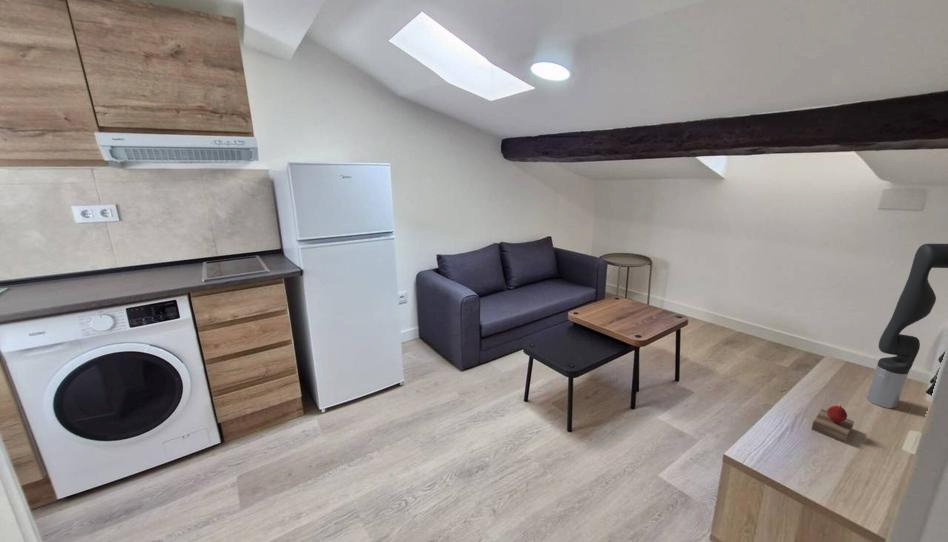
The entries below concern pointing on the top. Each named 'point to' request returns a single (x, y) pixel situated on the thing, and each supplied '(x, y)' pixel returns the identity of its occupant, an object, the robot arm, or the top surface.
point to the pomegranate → (837, 413)
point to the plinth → (832, 427)
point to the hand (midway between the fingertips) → (931, 389)
